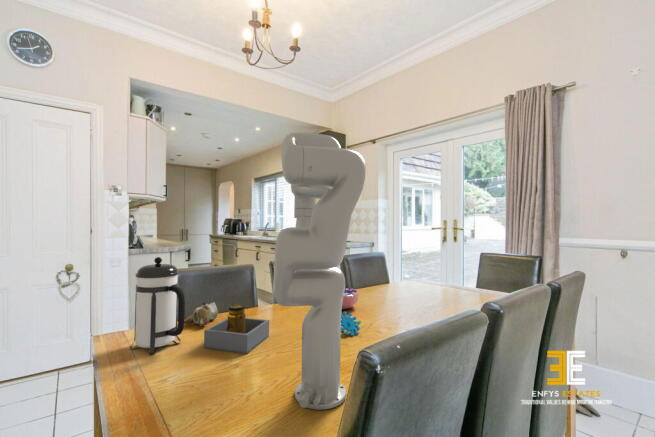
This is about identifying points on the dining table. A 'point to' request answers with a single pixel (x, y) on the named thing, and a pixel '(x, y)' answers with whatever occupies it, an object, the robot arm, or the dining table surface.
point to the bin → (236, 336)
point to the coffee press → (158, 306)
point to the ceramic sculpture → (203, 314)
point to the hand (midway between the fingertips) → (304, 262)
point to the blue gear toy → (349, 324)
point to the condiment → (236, 319)
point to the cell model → (350, 298)
